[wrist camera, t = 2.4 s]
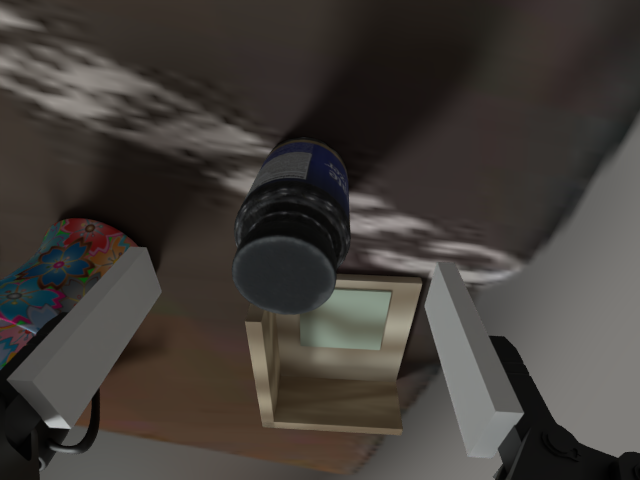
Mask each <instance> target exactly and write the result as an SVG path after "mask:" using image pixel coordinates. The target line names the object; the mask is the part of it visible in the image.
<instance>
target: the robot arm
mask: <svg viewBox="0 0 640 480" xmlns="http://www.w3.org/2000/svg"><path fill="white" fill-rule="evenodd" d="M161 292H162V291H161V288H160V285H159V282H158V279H157V276H156V273H155V270H154V268H153V265H152V262H151V259H150V256H149V253H148V250H147V247H129V248H128V249H127V251H126V252H125V253H124V254H123V255H122V256H121V257H120V258H119V259H118V260H117V261H116V262H115V263H114V265H113V266H112V267H111V268H110V269H109V270H108V271H107V272H106V273H105V274H104V275H103V276H102V277H101V279H100V280H99V281H98V282H97V283H96V284H95V285H94V286H93V287H92V288H91V289H90V290H89V291H88V292H87V294H86V295H85V296H84V297H83V298H82V299H81V300H80V301H79V302H78V303H77V304H76V305H75V306H74V308H73V309H72V310H71V311H70V312H62V313H60V314H59V315H57V316H55V317H54V318H52V319H51V320H49V321H48V322H47V323H46V324H45V325H44V326H43V327H42V328H41V329H40V330H39V331H38V332H37V333H36V336H33V337H32V338H31V339H30V340H29V341H28V342H27V343H26V346H23V347H22V348H21V349H20V350H19V351H18V352H17V354H16V355H15V356H14V357H13V358H12V359H11V360H10V361H9V362H8V363H7V364H6V365H5V366H4V367H3V368H2V369H1V370H0V480H40V474H39V451H38V434H37V431H36V429H35V428H34V427H35V426H36V425H37V423H38V422H39V421H40V419H42V420H43V421H44V422H45V423H46V424H47V425H48V426H49V427H51V428H65V429H72V428H73V426H74V424H75V423H76V421H77V420H78V418H79V417H80V415H81V414H82V412H83V411H84V409H85V408H86V406H87V405H88V403H89V402H90V400H91V399H92V397H93V396H94V394H95V393H96V391H97V390H98V388H99V387H100V385H101V384H102V382H103V380H104V379H105V377H106V376H107V374H108V373H109V371H110V370H111V368H112V367H113V365H114V364H115V362H116V361H117V359H118V358H119V356H120V355H121V353H122V352H123V350H124V349H125V347H126V346H127V344H128V343H129V341H130V339H131V338H132V336H133V335H134V333H135V332H136V330H137V329H138V327H139V326H140V324H141V323H142V321H143V320H144V318H145V317H146V315H147V314H148V312H149V311H150V309H151V308H152V306H153V305H154V303H155V302H156V300H157V299H158V297H159V295H160V294H161ZM425 309H426V313H427V316H428V320H429V323H430V327H431V330H432V334H433V337H434V341H435V344H436V348H437V351H438V355H439V358H440V362H441V365H442V369H443V372H444V375H445V379H446V382H447V386H448V389H449V393H450V396H451V400H452V403H453V406H454V410H455V414H456V417H457V420H458V424H459V428H460V431H461V435H462V438H463V441H464V445H465V448H466V452H467V455H468V457H481V458H493V456H494V455H495V454H496V452H497V451H499V453H500V456H501V459H502V462H503V464H502V466H501V467H500V468H499V469H498V471H497V472H496V474H495V475H494V476H493V478H495V480H640V453H637V452H625V453H623V454H622V455H621V456H620V457H619V458H616V457H614V456H611V455H609V454H606V453H603V452H600V451H598V450H595V449H593V448H590V447H587V446H585V445H583V444H581V443H579V442H578V441H577V440H576V439H575V437H574V436H573V435H572V434H571V433H570V432H568V431H567V430H566V429H565V428H563V427H562V426H560V425H558V424H557V423H556V422H555V420H554V419H553V417H552V415H551V413H550V412H549V410H548V408H547V406H546V404H545V402H544V400H543V398H542V396H541V395H540V393H539V391H538V389H537V387H536V385H535V383H534V381H533V379H532V377H531V376H529V372H528V370H527V368H526V366H525V365H524V364H523V360H522V358H521V357H520V355H519V353H518V351H517V349H516V348H515V347H514V346H513V345H512V344H511V343H510V342H509V341H508V340H507V339H506V338H505V337H504V336H503V337H502V336H488V334H487V332H486V330H485V327H484V325H483V323H482V321H481V319H480V317H479V314H478V312H477V311H476V308H475V306H474V304H473V301H472V299H471V297H470V295H469V293H468V291H467V288H466V286H465V284H464V282H463V280H462V278H461V275H460V273H459V271H458V269H457V267H456V265H455V263H450V262H437V264H436V268H435V271H434V275H433V278H432V282H431V285H430V289H429V292H428V296H427V299H426V303H425Z"/></svg>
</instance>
